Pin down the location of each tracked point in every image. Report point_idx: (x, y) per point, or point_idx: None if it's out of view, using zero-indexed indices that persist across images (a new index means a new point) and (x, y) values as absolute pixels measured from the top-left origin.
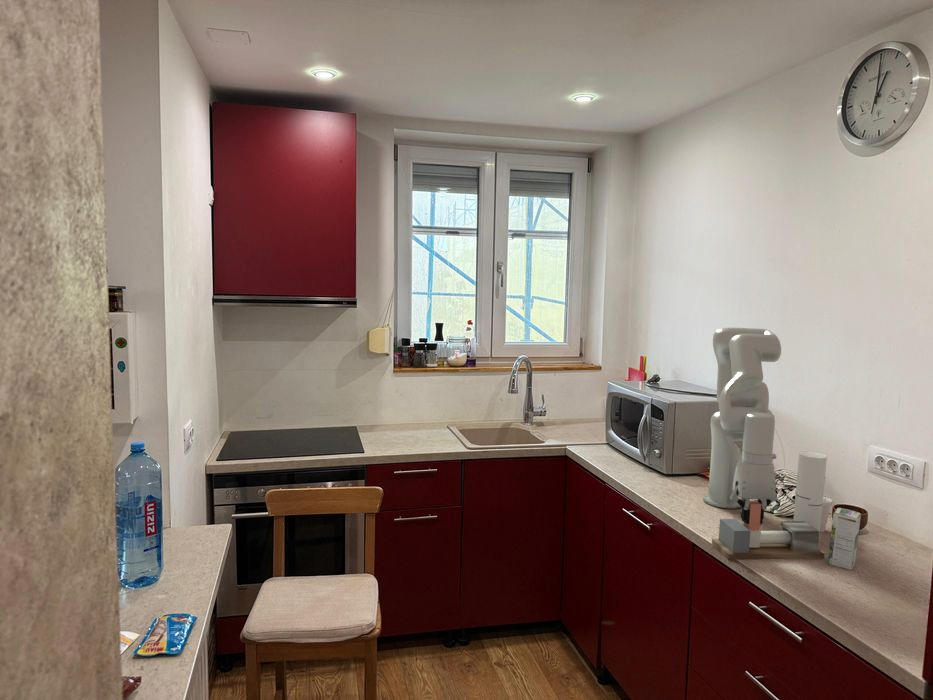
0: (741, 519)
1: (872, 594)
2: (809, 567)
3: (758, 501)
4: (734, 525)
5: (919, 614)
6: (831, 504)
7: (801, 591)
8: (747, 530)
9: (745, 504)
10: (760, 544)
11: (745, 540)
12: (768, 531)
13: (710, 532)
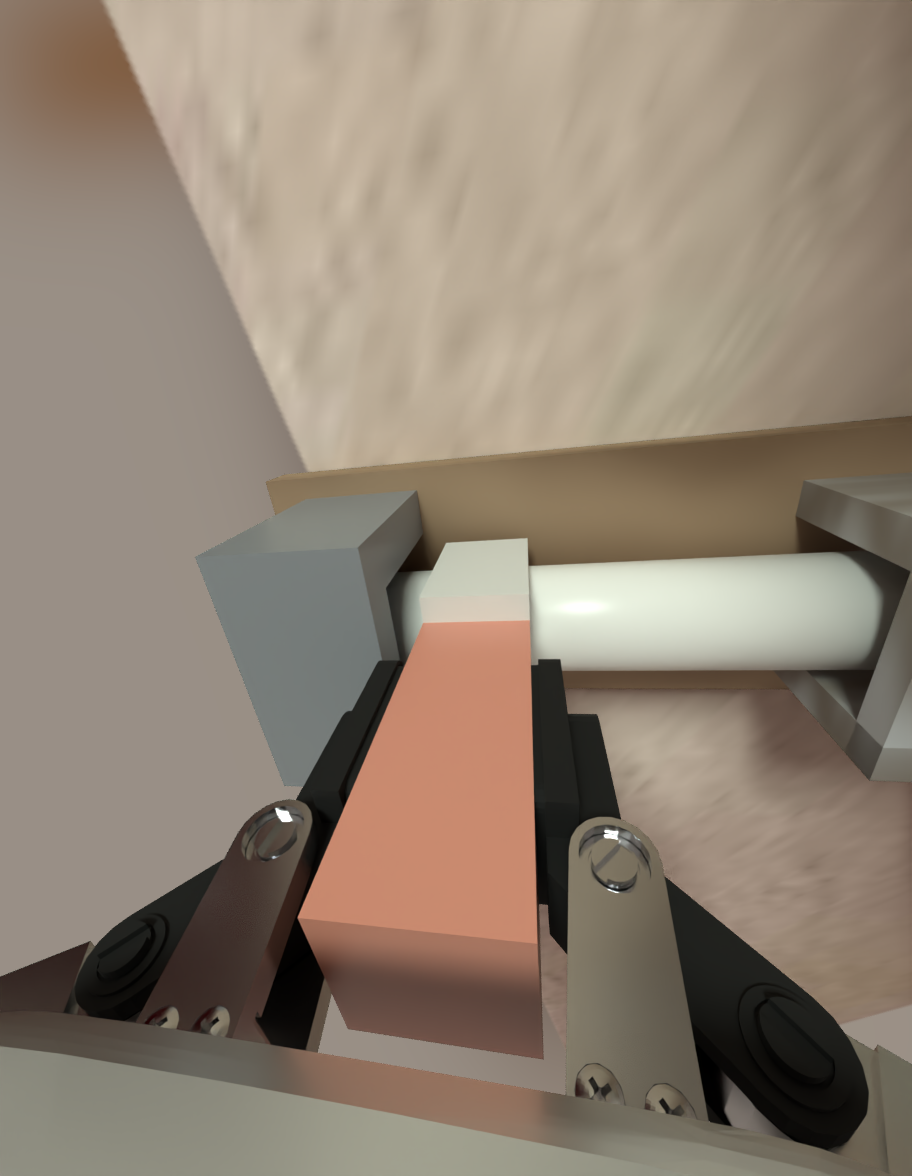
0: (380, 661)
1: (830, 930)
2: (741, 748)
3: (577, 962)
4: (307, 701)
5: (872, 1015)
6: None
7: None
8: None
9: (269, 998)
10: (586, 559)
11: None
12: (653, 645)
13: (309, 218)
